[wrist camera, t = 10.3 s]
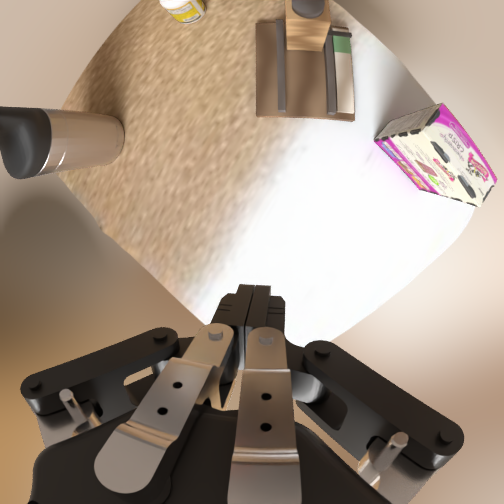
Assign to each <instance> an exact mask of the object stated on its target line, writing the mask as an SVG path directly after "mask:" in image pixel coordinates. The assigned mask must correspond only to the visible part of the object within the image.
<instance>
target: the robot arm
mask: <svg viewBox="0 0 504 504" xmlns="http://www.w3.org/2000/svg"><path fill="white" fill-rule="evenodd" d="M123 143H124V130H123V127H122V125H121V123H120V121H119V120H118V119H117V118H115V117H113V116H109V115H103V114H96V113H88V112H79V111H69V110H58V109H41V108H21V107H0V151H1V155H2V159H3V163H4V165H5V168H6V170H7V172H8V173H9V174H10V175H11V176H12V177H13V178H16V179H25V178H30V177H35V176H40V175H45V174H49V173H55V172H61V171H67V170H74V169H81V168H88V167H96V166H103V165H108V164H110V163H112V162H113V161H114V160H115V159H116V158H117V157H118V155H119V154H120V152H121V150H122V147H123ZM284 327H285V301H284V300H283V298H282V297H281V296H271V286H265V285H256V286H255V285H245V284H240V285H239V287H238V290H237V293H236V294H231V293H228V294H227V295H225V296H224V297H223V298H222V299H221V301H220V303H219V305H218V307H217V310H216V312H215V314H214V316H213V319H212V321H211V323H210V324H208V325H205V326H203V327H202V328H201V329H200V330H199V331H198V333H197V334H196V336H195V337H188V338H178V335H177V333H176V331H174V330H173V329H170V328H165V327H163V328H162V327H160V328H155V329H152V330H149V331H147V332H145V333H142V334H140V335H137V336H134V337H132V338H129V339H127V340H124V341H122V342H119V343H117V344H114V345H111V346H109V347H106V348H104V349H101V350H98V351H96V352H93V353H90V354H88V355H85V356H83V357H80V358H77V359H74V360H71V361H69V362H66V363H63V364H61V365H58V366H55V367H52V368H49V369H46V370H43V371H41V372H38V373H35V374H32V375H30V376H28V377H27V378H26V379H25V380H24V381H23V382H22V384H21V388H20V390H21V394H22V395H23V397H24V398H25V400H26V401H27V403H28V404H29V406H30V407H31V409H32V411H33V413H34V414H35V415H36V417H37V420H38V424H39V428H40V431H41V435H42V438H43V442H44V444H45V448H46V449H44V450H43V451H42V452H41V453H40V454H39V455H38V457H37V459H36V461H35V463H34V467H33V483H32V491H31V495H30V500H29V502H28V504H408V503H409V502H410V501H411V499H412V498H413V497H414V496H415V495H416V494H417V493H418V492H419V491H420V489H421V488H422V487H423V486H424V485H425V483H426V482H427V481H428V480H429V478H431V477H432V476H433V475H434V474H435V473H436V472H437V471H439V470H440V469H441V468H442V467H443V466H444V465H445V464H446V463H447V462H448V461H449V460H450V459H451V458H452V457H453V456H454V455H455V454H456V453H457V452H458V451H459V450H460V449H461V447H462V446H463V443H464V434H463V431H462V429H461V428H460V426H458V425H457V424H456V423H455V422H453V421H451V420H450V419H448V418H446V417H445V416H443V415H441V414H440V413H439V412H437V411H435V410H434V409H432V408H430V407H429V406H427V405H426V404H424V403H423V402H421V401H419V400H418V399H416V398H415V397H413V396H412V395H410V394H409V393H407V392H406V391H404V390H402V389H401V388H399V387H398V386H396V385H395V384H393V383H392V382H390V381H389V380H387V379H386V378H384V377H383V376H381V375H380V374H378V373H377V372H375V371H374V370H372V369H371V368H369V367H368V366H366V365H365V364H363V363H362V362H360V361H359V360H357V359H356V358H354V357H353V356H351V355H350V354H348V353H347V352H346V351H344V350H343V349H341V348H340V347H338V346H337V345H335V344H334V343H331V342H328V341H323V340H318V341H313V342H310V343H308V344H307V345H306V346H305V347H300V346H296V345H294V344H292V343H290V342H289V341H288V340H287V339H286V337H285V335H284ZM150 366H151V368H152V372H153V374H151V375H149V376H146V377H144V378H142V379H140V380H138V381H135V382H133V383H131V384H129V385H126V386H124V384H123V383H124V380H125V379H126V377H128V376H129V375H132V374H134V373H136V372H139V371H141V370H143V369H145V368H147V367H150ZM238 370H243V374H242V382H241V392H240V401H239V410H228V411H226V409H227V406H228V403H229V401H230V398H231V395H232V392H233V390H234V387H235V384H236V376H237V372H238ZM293 399H295V400H296V404H297V406H298V407H299V408H300V409H301V410H302V411H303V412H304V413H305V414H306V415H308V417H310V418H311V419H312V420H313V421H314V422H315V423H316V424H317V425H319V427H320V428H321V429H323V430H324V431H325V432H326V433H327V434H328V435H330V437H331V438H333V439H334V440H335V441H336V442H337V443H338V444H339V445H341V446H342V447H343V448H344V449H345V450H347V451H348V452H349V453H350V454H351V455H352V456H354V457H355V458H356V459H357V460H358V461H360V462H359V465H358V472H359V475H358V474H357V473H356V472H355V471H354V470H353V469H352V468H350V466H349V465H347V464H346V463H345V462H344V461H343V460H342V459H341V458H340V457H339V456H338V455H337V454H336V453H335V452H334V451H333V450H332V449H331V448H330V447H328V445H327V444H326V443H324V441H322V440H321V439H320V438H319V437H318V436H317V435H316V434H315V433H314V432H313V431H311V430H310V429H309V428H307V427H305V426H304V425H302V424H299V423H297V422H295V421H294V409H293Z"/></svg>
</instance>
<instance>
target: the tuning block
mask: <svg viewBox="0 0 504 504" xmlns="http://www.w3.org/2000/svg"><path fill="white" fill-rule="evenodd" d="M285 13H286V38H287V50H306V51H321V52H322V49H323V46H324V42H325V39H326V36H327V35H333V36H341V37H349V38H351V37H352V35H351V33H349V32H341V31H333V30H329V27H330V23H331V18H330V10H329V2H328V0H285Z"/></svg>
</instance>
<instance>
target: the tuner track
mask: <svg viewBox="0 0 504 504" xmlns="http://www.w3.org/2000/svg"><path fill="white" fill-rule="evenodd" d="M329 30H333V31H341V32H349V30H348V28H346V27H338V26H331V25H330V27H329ZM256 116H257V117H291V118H314V119H328V120H340V121H350V122H353V121H355V109H354V85H353V70H352V58H351V46H350V38H349V37H341V36H333V35H327V36H326V39H325V42H324V46H323V49H322V52H321V51H306V50H287V38H286V23H283V20H276V23H256Z"/></svg>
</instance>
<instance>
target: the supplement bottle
mask: <svg viewBox="0 0 504 504" xmlns="http://www.w3.org/2000/svg"><path fill="white" fill-rule="evenodd" d="M160 4H161V5H162V6H163V7H164V8H165V9H166V10H167V11H168V12H169V13H170V14H171V15H172V16H173V17H174V18H175V19H176V20H177V21H178V22H180V23H182V24H191V23H194V22H196V21H198V20H199V19H201V18H202V17H203V15H204V14H205V11H206V7H205V5H204V3H203V2H202V0H160Z"/></svg>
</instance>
